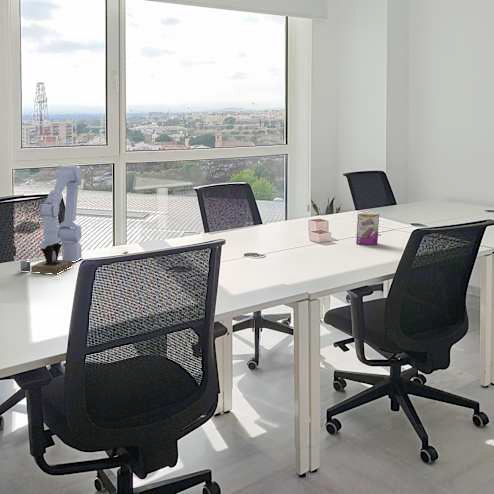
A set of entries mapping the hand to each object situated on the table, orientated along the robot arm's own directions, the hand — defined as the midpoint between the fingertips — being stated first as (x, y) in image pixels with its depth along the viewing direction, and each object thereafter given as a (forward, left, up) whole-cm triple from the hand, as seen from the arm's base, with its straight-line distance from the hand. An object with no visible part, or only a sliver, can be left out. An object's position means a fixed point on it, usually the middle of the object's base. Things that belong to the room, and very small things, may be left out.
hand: (52, 261), depth 298 cm
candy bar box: (-98, +129, -4) cm, 162 cm away
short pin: (+5, -10, -4) cm, 12 cm away
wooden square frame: (0, 0, -4) cm, 4 cm away
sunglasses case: (-21, +24, -5) cm, 33 cm away
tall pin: (0, 0, -3) cm, 3 cm away
